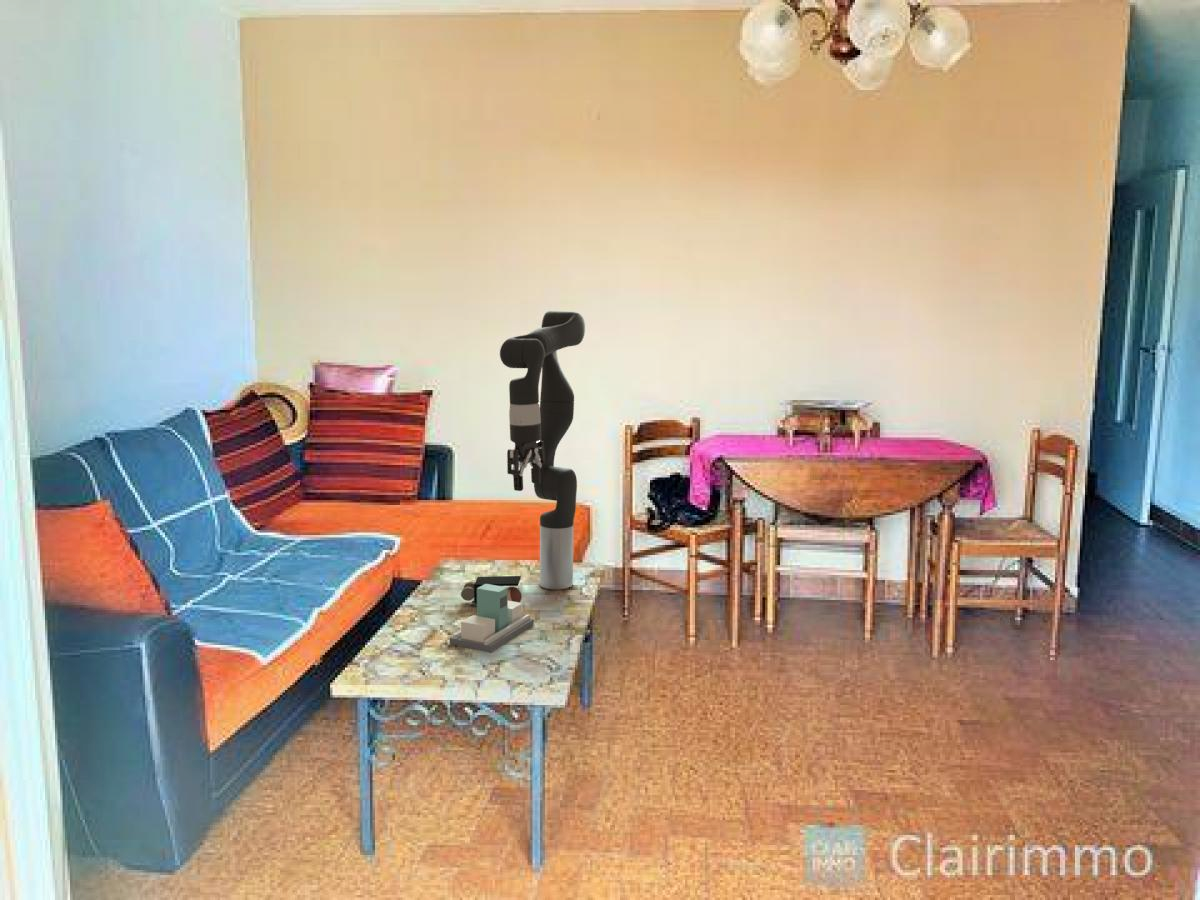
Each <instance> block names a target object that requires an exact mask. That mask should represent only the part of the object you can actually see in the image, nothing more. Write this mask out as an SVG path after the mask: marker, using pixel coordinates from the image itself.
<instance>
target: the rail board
mask: <svg viewBox="0 0 1200 900" xmlns="http://www.w3.org/2000/svg"><path fill="white" fill-rule="evenodd" d="M533 626H534V618H531V614H528V613H527V614H526V615H523V617H522V618H520V619H519V620H517V621H515V622H514V623H512V624H510V625H509V624H508V626H507V627H505V628H504V629H502V630H501V631H499V632H497V633H496V632H495V634H494V635H492V636H491V637H489V638H488V639H486V640H484V643H483V642H478V641H473V640H467V639H462V638H461V629H459V630H458V631H456V632H454V633H453V634H452V636H450V637H449V645H452V646H458V647H463V648H468V649H472V650H478V651H482V652H487V651H488V653H492V652H493V651H495V650H497V649H498V648H500V647H501V646H503V645H504V644H506V643H507V642H509V641H511V640H512V639H514V638H515V637H517V636H519V635H520V634H522V633H524V632H525V631H526V630H528V629H529V628H531V627H533Z"/></svg>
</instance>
